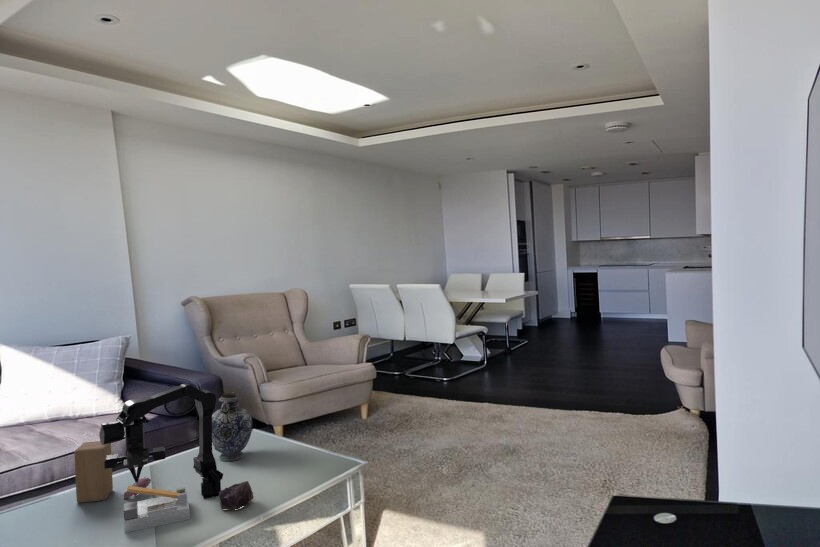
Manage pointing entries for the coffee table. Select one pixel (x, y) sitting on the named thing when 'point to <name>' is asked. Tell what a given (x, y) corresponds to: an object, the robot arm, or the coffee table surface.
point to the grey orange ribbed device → (159, 512)
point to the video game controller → (141, 483)
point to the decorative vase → (231, 428)
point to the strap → (152, 492)
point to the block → (92, 472)
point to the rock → (236, 496)
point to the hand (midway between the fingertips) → (136, 481)
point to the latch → (130, 510)
